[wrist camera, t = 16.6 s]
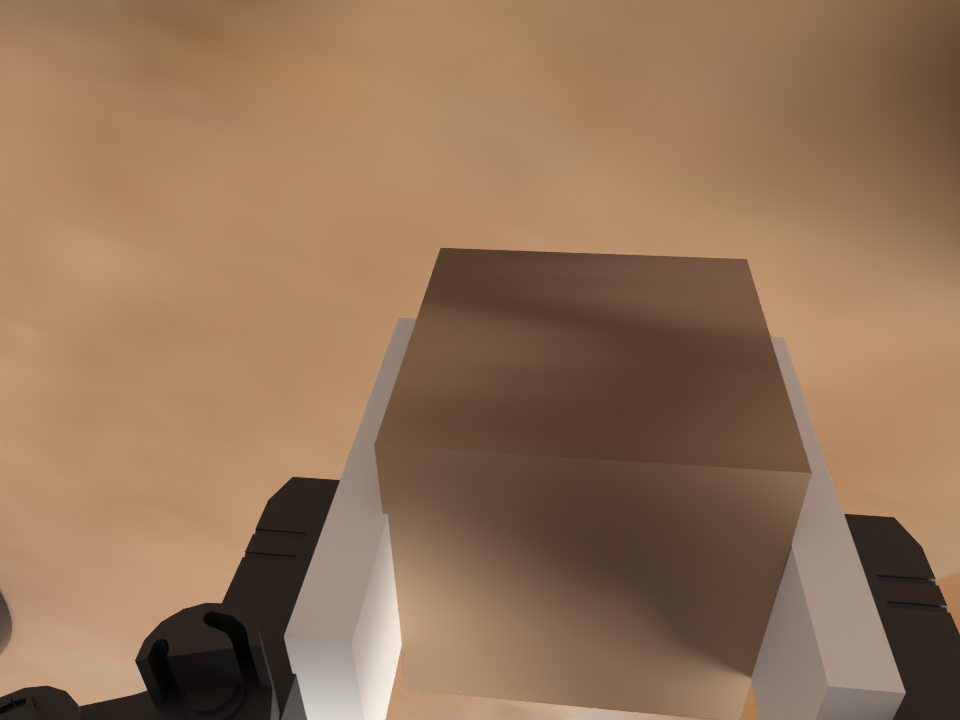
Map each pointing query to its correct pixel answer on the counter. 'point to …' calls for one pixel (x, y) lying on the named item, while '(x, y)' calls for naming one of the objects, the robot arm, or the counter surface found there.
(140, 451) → the counter surface
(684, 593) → the walnut cube
